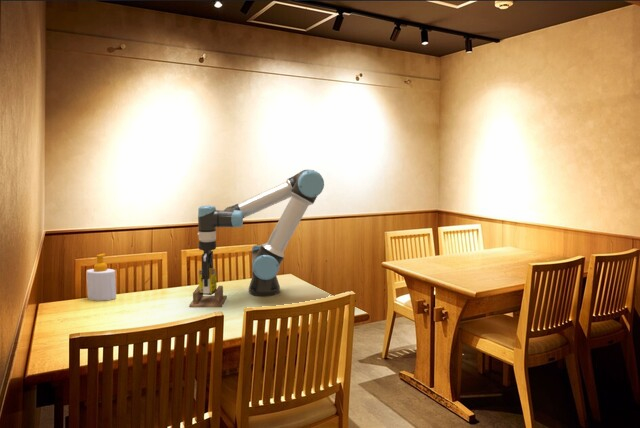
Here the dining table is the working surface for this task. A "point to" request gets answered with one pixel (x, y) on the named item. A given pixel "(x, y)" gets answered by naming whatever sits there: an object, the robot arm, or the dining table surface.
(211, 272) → the supplement box
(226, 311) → the dining table surface
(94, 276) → the soap bottle
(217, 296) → the slot block
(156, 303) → the dining table surface
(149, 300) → the dining table surface
